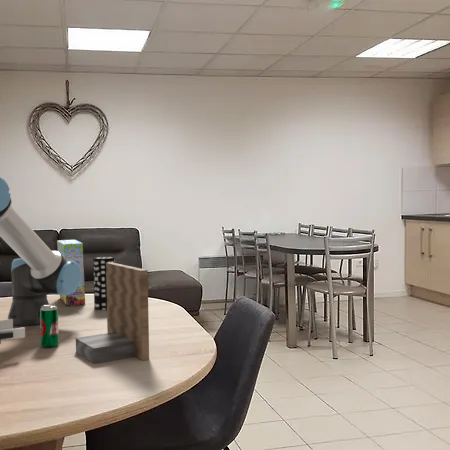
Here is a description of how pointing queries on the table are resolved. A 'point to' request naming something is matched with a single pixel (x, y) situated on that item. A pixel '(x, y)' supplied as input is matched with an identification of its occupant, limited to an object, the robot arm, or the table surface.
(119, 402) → the table surface
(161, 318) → the table surface
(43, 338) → the soda can
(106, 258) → the spotted tube
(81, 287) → the snack box
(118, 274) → the wall board
